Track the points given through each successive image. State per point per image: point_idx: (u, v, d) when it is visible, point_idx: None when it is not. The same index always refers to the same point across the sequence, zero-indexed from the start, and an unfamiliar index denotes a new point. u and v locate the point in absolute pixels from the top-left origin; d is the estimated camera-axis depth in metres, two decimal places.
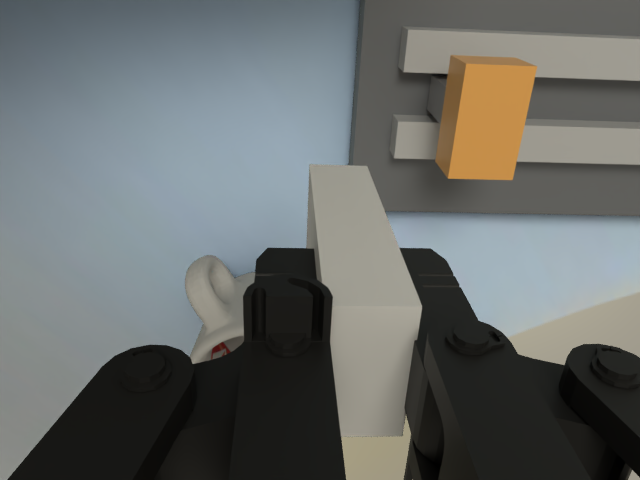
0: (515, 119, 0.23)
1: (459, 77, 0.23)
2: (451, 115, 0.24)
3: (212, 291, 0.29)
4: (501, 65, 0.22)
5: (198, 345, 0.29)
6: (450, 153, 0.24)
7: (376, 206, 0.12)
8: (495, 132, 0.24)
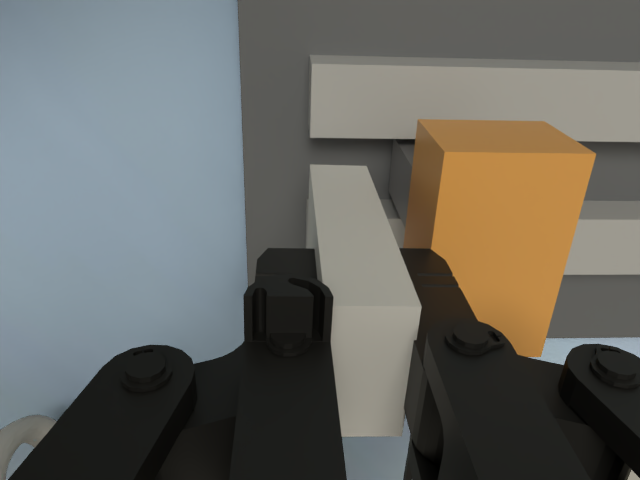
0: (548, 254, 0.12)
1: (431, 173, 0.11)
2: (420, 239, 0.12)
3: None
4: (520, 153, 0.11)
5: None
6: None
7: (375, 206, 0.12)
8: (506, 278, 0.12)
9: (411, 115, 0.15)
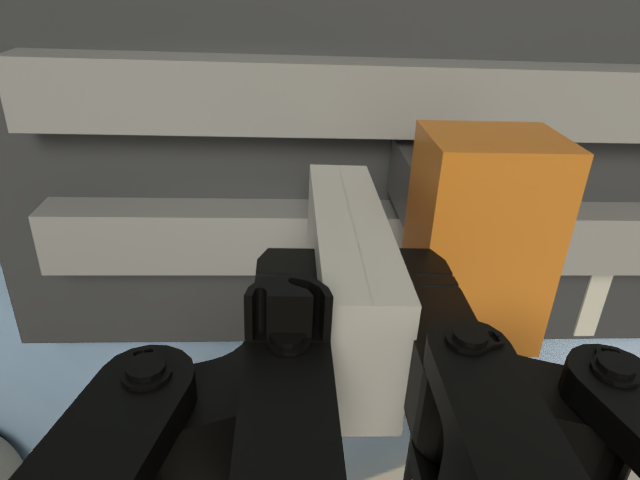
0: (546, 254, 0.12)
1: (430, 173, 0.11)
2: (418, 239, 0.12)
3: None
4: (518, 153, 0.11)
5: None
6: None
7: (376, 206, 0.12)
8: (504, 278, 0.12)
9: (111, 110, 0.15)
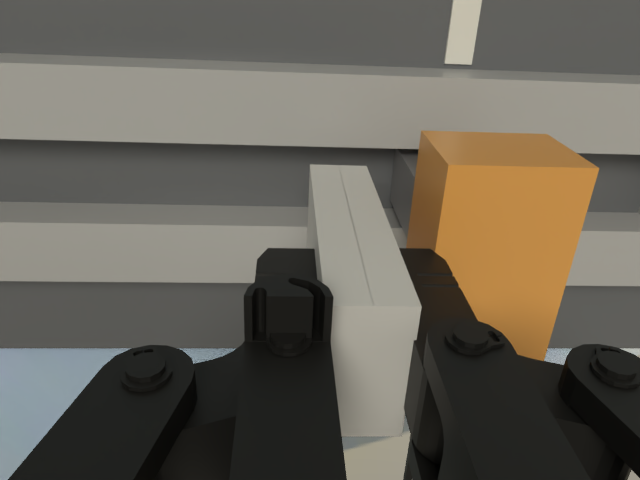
0: (550, 266, 0.12)
1: (435, 185, 0.11)
2: None
3: None
4: (523, 166, 0.11)
5: None
6: None
7: (375, 206, 0.12)
8: (508, 291, 0.12)
9: None
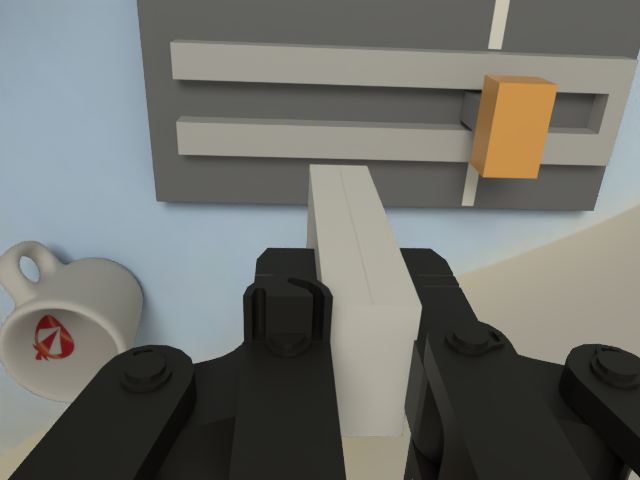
0: (539, 128, 0.28)
1: (493, 93, 0.28)
2: (485, 124, 0.29)
3: (18, 271, 0.33)
4: (528, 84, 0.27)
5: (6, 318, 0.33)
6: (485, 156, 0.29)
7: (376, 206, 0.12)
8: (522, 139, 0.29)
9: (221, 68, 0.31)
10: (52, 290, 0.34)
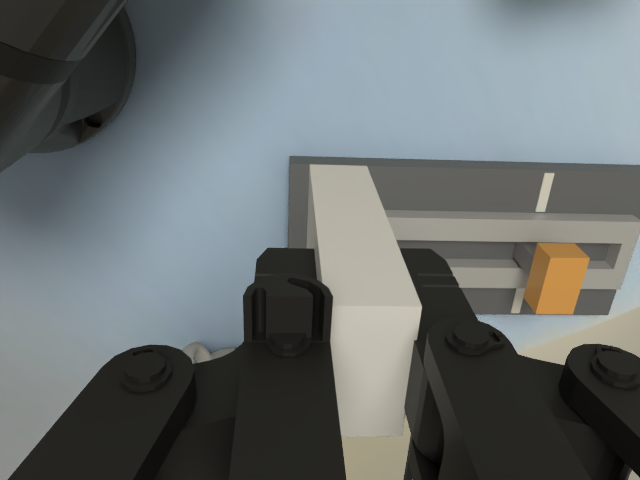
0: (576, 283, 0.41)
1: (544, 261, 0.41)
2: (538, 278, 0.42)
3: None
4: (570, 257, 0.40)
5: None
6: (537, 300, 0.42)
7: (376, 206, 0.12)
8: (564, 290, 0.41)
9: None
10: None
